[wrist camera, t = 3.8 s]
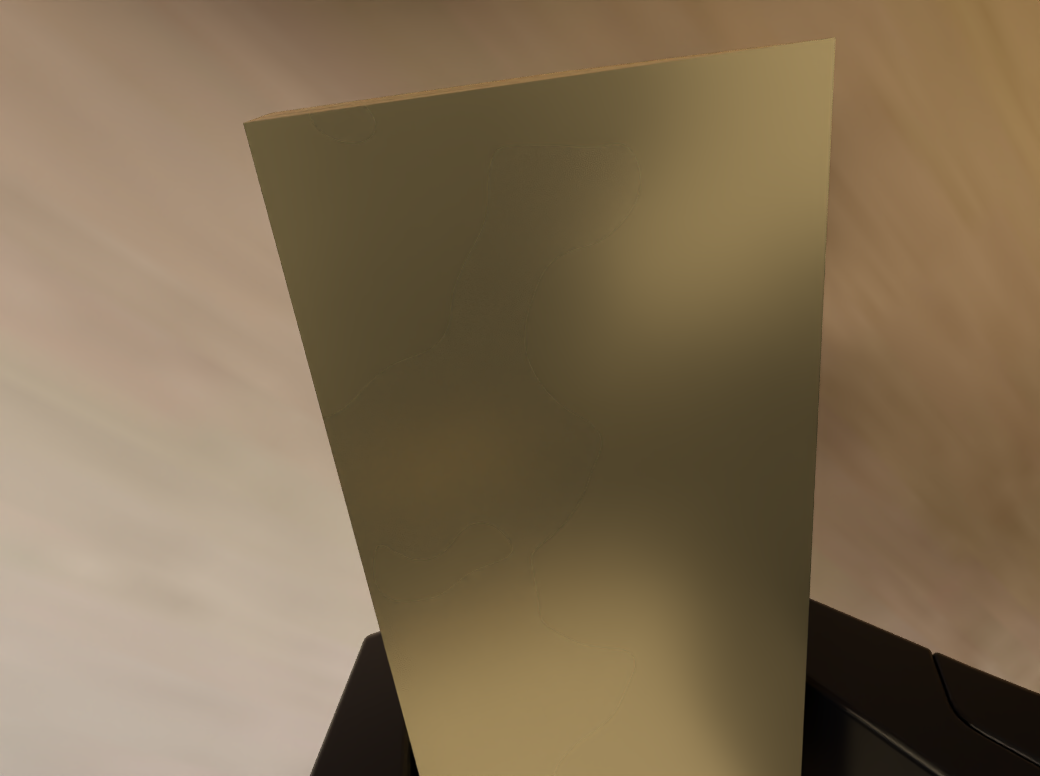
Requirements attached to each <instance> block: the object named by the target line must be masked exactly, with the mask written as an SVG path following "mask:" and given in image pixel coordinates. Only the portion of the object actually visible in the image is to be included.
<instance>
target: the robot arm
mask: <svg viewBox="0 0 1040 776" xmlns="http://www.w3.org/2000/svg"><path fill="white" fill-rule="evenodd" d="M310 776H419V772H418V768H417V765H416V761H415V757H414V754H413V750H412V746H411V742H410V739H409V735H408V731H407V728H406V724H405V720H404V717H403V713H402V709H401V705H400V702H399V698H398V694H397V691H396V687H395V683H394V680H393V676H392V672H391V668H390V665H389V661H388V657H387V654H386V650H385V646H384V642H383V639H382V635H381V631H379V632H376V633H373V634H370V635H368V636H367V637H366V638H365V639H364V641H363V644H362V646H361V649H360V651H359V654H358V656H357V659H356V661H355V664H354V666H353V669H352V671H351V674H350V676H349V679H348V681H347V684H346V686H345V689H344V691H343V694H342V696H341V699H340V702H339V704H338V707H337V709H336V712H335V714H334V717H333V719H332V722H331V724H330V727H329V729H328V732H327V734H326V737H325V739H324V742H323V744H322V747H321V749H320V752H319V754H318V757H317V759H316V762H315V764H314V767H313V769H312V772H311V774H310ZM801 776H1040V694H1039V693H1036V692H1034V691H1031V690H1028V689H1026V688H1023V687H1021V686H1018V685H1016V684H1013V683H1011V682H1008V681H1006V680H1003V679H1001V678H998V677H996V676H993V675H991V674H988V673H986V672H983V671H981V670H978V669H976V668H973V667H971V666H969V665H966V664H964V663H962V662H959V661H957V660H955V659H952V658H950V657H947V656H945V655H943V654H940V653H934V654H933V655H932V652H931V651H930V650H929V649H928V648H926V647H923V646H921V645H919V644H916V643H914V642H911V641H909V640H907V639H904V638H902V637H900V636H897V635H895V634H893V633H890V632H888V631H886V630H883V629H881V628H878V627H876V626H874V625H871V624H869V623H867V622H864V621H862V620H860V619H857V618H855V617H852V616H850V615H848V614H845V613H843V612H841V611H838V610H836V609H834V608H831V607H829V606H827V605H824V604H822V603H819V602H817V601H815V600H812V599H810V598H809V616H808V638H807V659H806V681H805V702H804V723H803V745H802V766H801Z"/></svg>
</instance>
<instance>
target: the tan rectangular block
mask: <svg viewBox="0 0 1040 776" xmlns="http://www.w3.org/2000/svg"><path fill="white" fill-rule="evenodd" d="M835 40H836V38H829V39H821V40H813V41H804V42H796V43H788V44H780V45H772V46H764V47H756V48H748V49H740V50H732V51H724V52H716V53H708V54H700V55H692V56H684V57H676V58H668V59H660V60H652V61H644V62H636V63H628V64H620V65H612V66H604V67H596V68H588V69H579V70H571V71H563V72H555V73H548V74H541V75H534V76H527V77H520V78H513V79H506V80H499V81H492V82H485V83H478V84H471V85H464V86H457V87H450V88H443V89H436V90H429V91H422V92H415V93H408V94H401V95H394V96H387V97H380V98H373V99H366V100H359V101H352V102H345V103H338V104H331V105H324V106H317V107H310V108H303V109H295V110H288V111H281V112H274V113H270V114H267V115H264V116H261V117H259V118H256V119H253V120H250V121H248V122H245V123H243V124H244V128H245V131H246V135H247V139H248V142H249V146H250V150H251V154H252V157H253V161H254V165H255V168H256V172H257V176H258V180H259V183H260V187H261V191H262V194H263V198H264V202H265V205H266V209H267V213H268V217H269V220H270V224H271V228H272V231H273V235H274V239H275V242H276V246H277V250H278V254H279V257H280V261H281V265H282V268H283V272H284V276H285V280H286V283H287V287H288V291H289V294H290V298H291V302H292V305H293V309H294V313H295V317H296V320H297V324H298V328H299V331H300V335H301V339H302V342H303V346H304V350H305V354H306V357H307V361H308V365H309V368H310V372H311V376H312V380H313V383H314V387H315V391H316V394H317V398H318V402H319V405H320V409H321V413H322V417H323V420H324V424H325V428H326V431H327V435H328V439H329V442H330V446H331V450H332V454H333V457H334V461H335V465H336V468H337V472H338V476H339V480H340V483H341V487H342V491H343V494H344V498H345V502H346V505H347V509H348V513H349V517H350V520H351V524H352V528H353V531H354V535H355V539H356V542H357V546H358V550H359V554H360V557H361V561H362V565H363V568H364V572H365V576H366V580H367V583H368V587H369V591H370V594H371V598H372V602H373V605H374V609H375V613H376V617H377V620H378V624H379V628H380V631H381V635H382V639H383V642H384V646H385V650H386V654H387V657H388V661H389V665H390V668H391V672H392V676H393V680H394V683H395V687H396V691H397V694H398V698H399V702H400V705H401V709H402V713H403V717H404V720H405V724H406V728H407V731H408V735H409V739H410V742H411V746H412V750H413V754H414V757H415V761H416V765H417V768H418V772H419V776H801V766H802V745H803V723H804V702H805V681H806V659H807V638H808V616H809V595H810V574H811V552H812V531H813V510H814V488H815V467H816V446H817V424H818V403H819V382H820V360H821V339H822V318H823V296H824V275H825V254H826V232H827V211H828V189H829V168H830V147H831V125H832V104H833V83H834V61H835Z"/></svg>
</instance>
